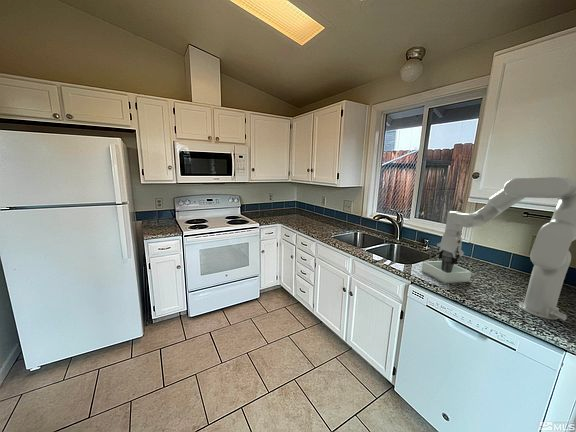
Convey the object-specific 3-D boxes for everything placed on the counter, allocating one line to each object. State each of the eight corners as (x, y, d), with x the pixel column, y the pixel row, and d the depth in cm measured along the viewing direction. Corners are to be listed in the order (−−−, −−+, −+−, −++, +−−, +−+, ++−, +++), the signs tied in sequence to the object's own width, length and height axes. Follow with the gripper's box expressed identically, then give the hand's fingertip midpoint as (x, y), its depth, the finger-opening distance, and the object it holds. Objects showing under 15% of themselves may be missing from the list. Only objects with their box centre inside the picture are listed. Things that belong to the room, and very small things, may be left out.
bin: (469, 281, 133) (471, 271, 132) (445, 283, 129) (446, 273, 128) (443, 269, 149) (445, 260, 148) (421, 270, 146) (423, 261, 144)
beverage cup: (455, 278, 135) (462, 244, 131) (441, 276, 136) (447, 243, 133) (449, 272, 142) (455, 241, 138) (436, 271, 143) (442, 240, 140)
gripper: (472, 236, 127) (466, 266, 130) (444, 229, 143) (440, 255, 147) (461, 237, 125) (455, 267, 128) (434, 229, 142) (430, 256, 145)
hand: (447, 261), depth 137 cm, fingers open, 8 cm apart
